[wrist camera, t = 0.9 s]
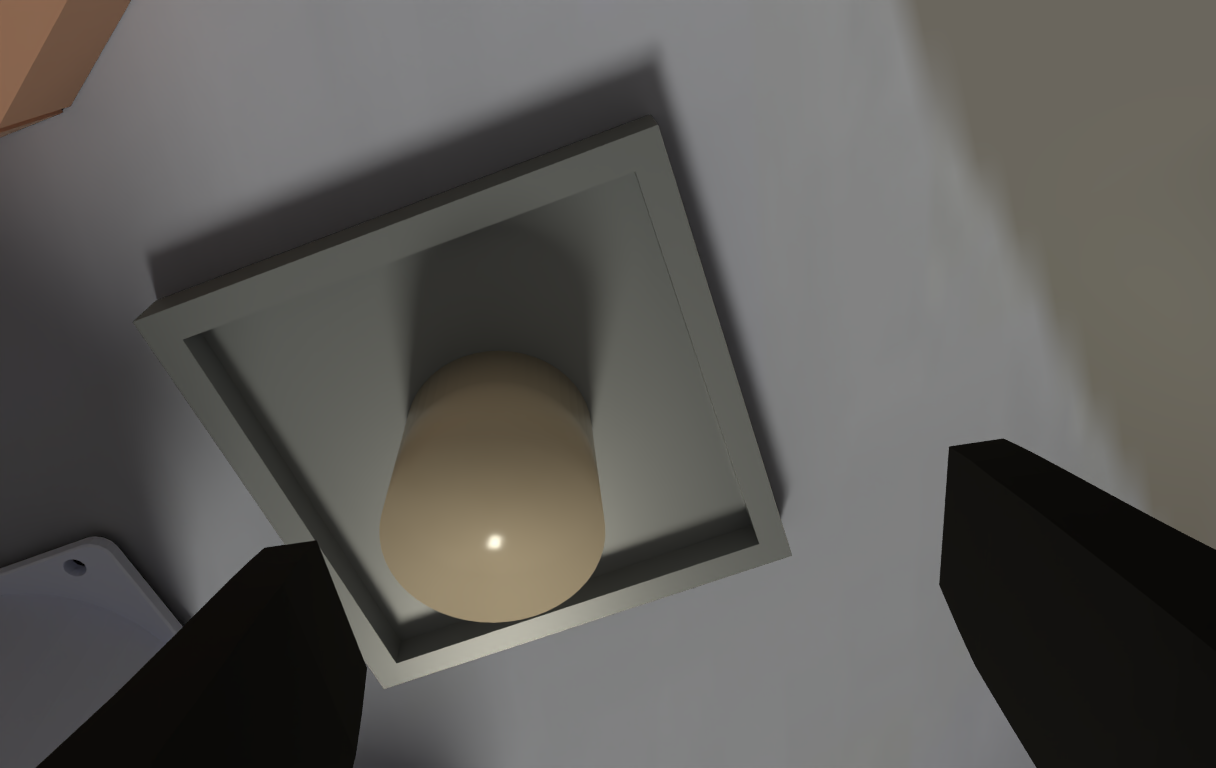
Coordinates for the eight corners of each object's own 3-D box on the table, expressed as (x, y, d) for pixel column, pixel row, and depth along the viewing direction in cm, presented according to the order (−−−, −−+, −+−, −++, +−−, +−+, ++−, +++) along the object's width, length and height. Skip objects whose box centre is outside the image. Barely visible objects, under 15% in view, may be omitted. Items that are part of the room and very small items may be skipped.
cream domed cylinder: (453, 531, 21) (437, 648, 17) (374, 388, 19) (337, 486, 15) (616, 475, 21) (634, 583, 17) (553, 324, 19) (558, 409, 15)
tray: (390, 655, 23) (383, 689, 22) (156, 300, 18) (132, 322, 17) (779, 527, 22) (791, 555, 21) (650, 114, 17) (657, 124, 16)
